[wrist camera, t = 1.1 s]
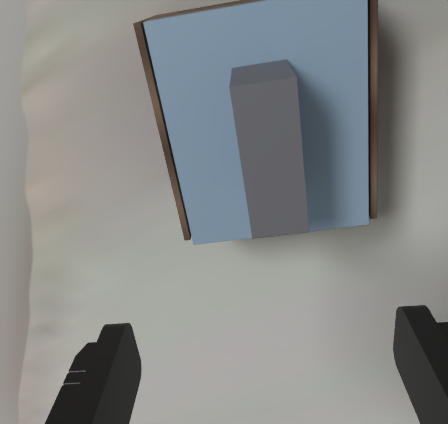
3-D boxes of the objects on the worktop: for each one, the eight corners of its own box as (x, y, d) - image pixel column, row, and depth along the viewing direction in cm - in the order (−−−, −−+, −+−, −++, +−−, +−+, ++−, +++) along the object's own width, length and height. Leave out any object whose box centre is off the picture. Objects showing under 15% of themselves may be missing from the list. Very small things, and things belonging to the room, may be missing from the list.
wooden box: (155, 15, 29) (133, 23, 23) (349, -19, 28) (377, -20, 22) (194, 197, 36) (184, 240, 30) (353, 177, 34) (376, 218, 28)
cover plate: (148, 20, 24) (118, 31, 18) (360, -17, 23) (399, -18, 17) (195, 233, 30) (184, 291, 25) (362, 213, 29) (392, 269, 23)
